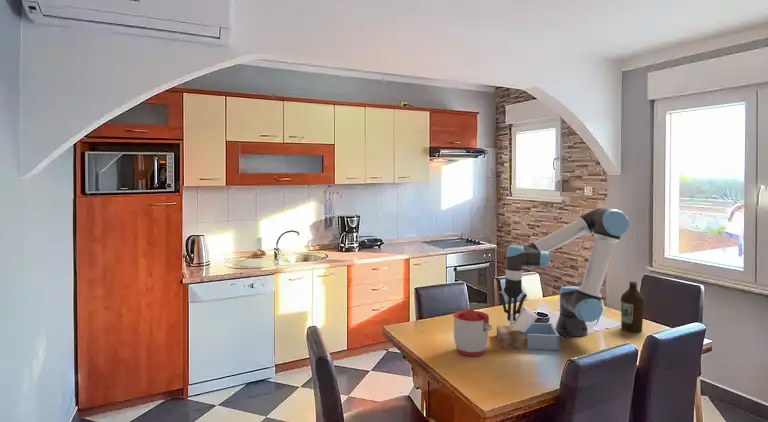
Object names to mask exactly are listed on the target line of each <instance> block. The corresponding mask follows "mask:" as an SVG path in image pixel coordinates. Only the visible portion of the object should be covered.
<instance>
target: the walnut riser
mask: <svg viewBox="0 0 768 422" xmlns="http://www.w3.org/2000/svg"><path fill="white" fill-rule="evenodd" d="M496 338H497V341H498V345H499V349H504V350H505V349H507V350H525V351H526V350H527V342H528V339H527V337H526V334H525V333H523V332H521V331H519V330H518V329H517V328H516V327H514V325H513V328H510V327H509V325H501V324H500V325H499V324H498V325H496Z"/></svg>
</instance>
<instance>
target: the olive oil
mask: <svg viewBox="0 0 768 422" xmlns="http://www.w3.org/2000/svg"><path fill="white" fill-rule="evenodd" d="M637 283H638V282H637V281H635V280H630V281H629V286H628V287H629V288H628V289H627V290H625V292H623V293H622V295H621V297H620V314H621V315H620V316H621V317H620V318H621V320H620V324H621V326H620V327H621V330H623V331H625V332H629V333H641V332H642V331H643V323H644V310H645V298H644V295H643V294H642V293H641V292H640V291H639V290H638V289H637V288H638V284H637Z"/></svg>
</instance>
